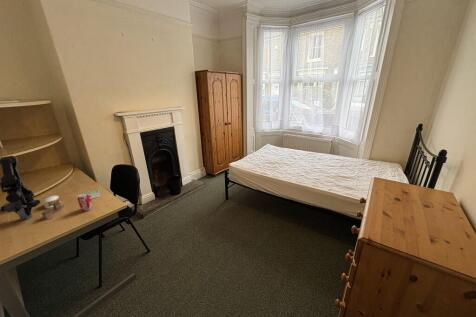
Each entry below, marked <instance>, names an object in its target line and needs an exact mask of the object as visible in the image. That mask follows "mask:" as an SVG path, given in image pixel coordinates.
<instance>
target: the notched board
mask: <svg viewBox="0 0 476 317" xmlns="http://www.w3.org/2000/svg"><path fill="white" fill-rule="evenodd" d="M60 202H61V201H60V199H57V200H56V201H55V202H54V203H53V208H52V209H51V208H45V210H43V211H42V212H41V215H42V218H41V219H40V221H47V220H52V219H53V218H54V217H55V216H56V215H57V214H59V212H60V211H61V210H62V209H63V208H64V207H66V205H65V204H64V205H63V204H62V203H60Z"/></svg>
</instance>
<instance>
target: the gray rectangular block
mask: <svg viewBox="0 0 476 317" xmlns="http://www.w3.org/2000/svg"><path fill="white" fill-rule="evenodd" d="M24 208H25V207H21V208H20V209H19V210H18V211H17V213H18V214H17V213H16V214H17V215H18V218H19V219H20V220H21V221H22V220H28V219H29V218H31V217H32V216H33V214H32V213H31V214H30V215H28V214H27V212H26V210H24Z"/></svg>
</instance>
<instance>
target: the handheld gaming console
mask: <svg viewBox="0 0 476 317" xmlns="http://www.w3.org/2000/svg"><path fill="white" fill-rule="evenodd" d="M85 193H87V194H88V195H89V196H90V199H91V200H93V199H96V198H99V197H100V196H101V194H100V190H99V189H94V190H89V191H86V192H85Z"/></svg>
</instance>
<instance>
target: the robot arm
mask: <svg viewBox="0 0 476 317" xmlns="http://www.w3.org/2000/svg"><path fill="white" fill-rule="evenodd" d="M18 162H19V160H18V157H17V156H14V155H9V156H2V157H0V166H1V169H2V177H1V178H0V188H1V192H2V193H6V197H5V200H6V201H7V202H6V203H5V204H3V205H2V206H0V211H1V212H7V213H12V212H13V213H15V214H17V215H18V213H17V211H18V210H19V209H20V208H24V207H25V208H24V210H26V212H27V214H28V215H30V214H32V209H33V208H36V207H37V206H38V205H39V204H41V201H40V199H34V196H35V194H34V192H33V191H32V190H31V189H30V188H29V187H28V186H26V185H25V184H24V182H23V181H22V177H21V175H20V173H19V171H18V168H17V165H18Z"/></svg>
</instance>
